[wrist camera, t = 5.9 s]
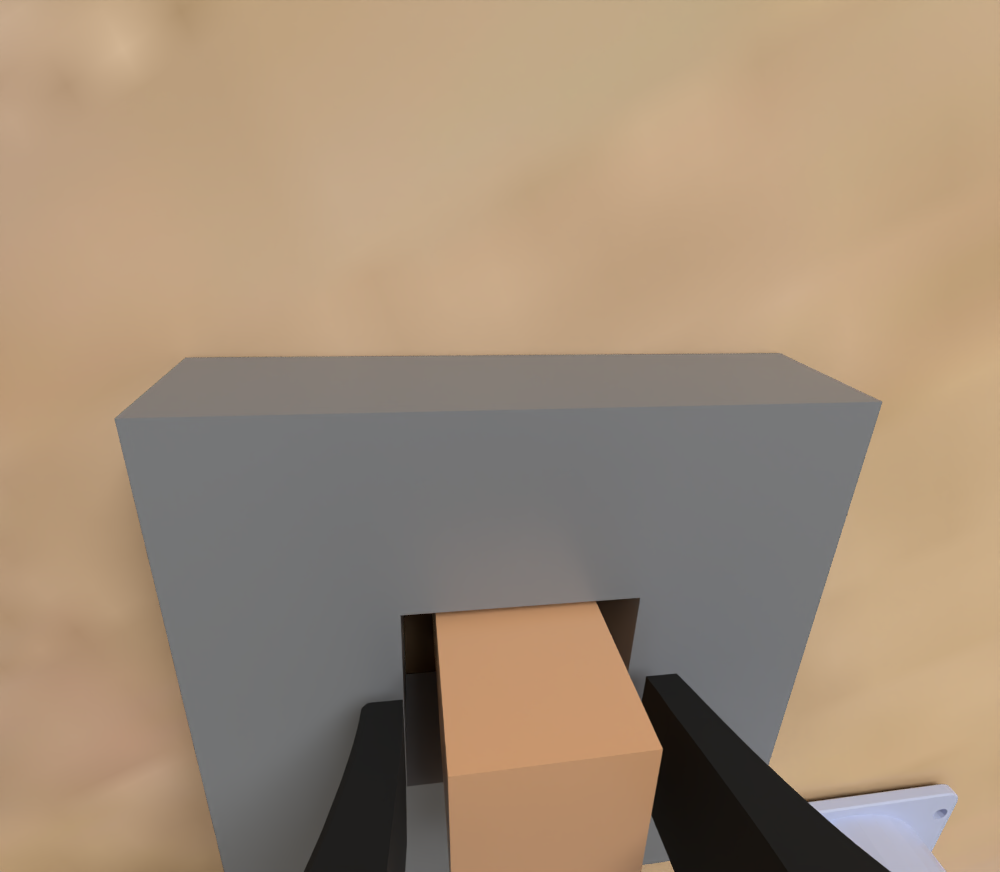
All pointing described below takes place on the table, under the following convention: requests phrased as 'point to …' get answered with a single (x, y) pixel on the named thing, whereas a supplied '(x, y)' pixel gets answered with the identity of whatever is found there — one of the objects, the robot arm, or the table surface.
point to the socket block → (471, 545)
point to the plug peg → (541, 742)
